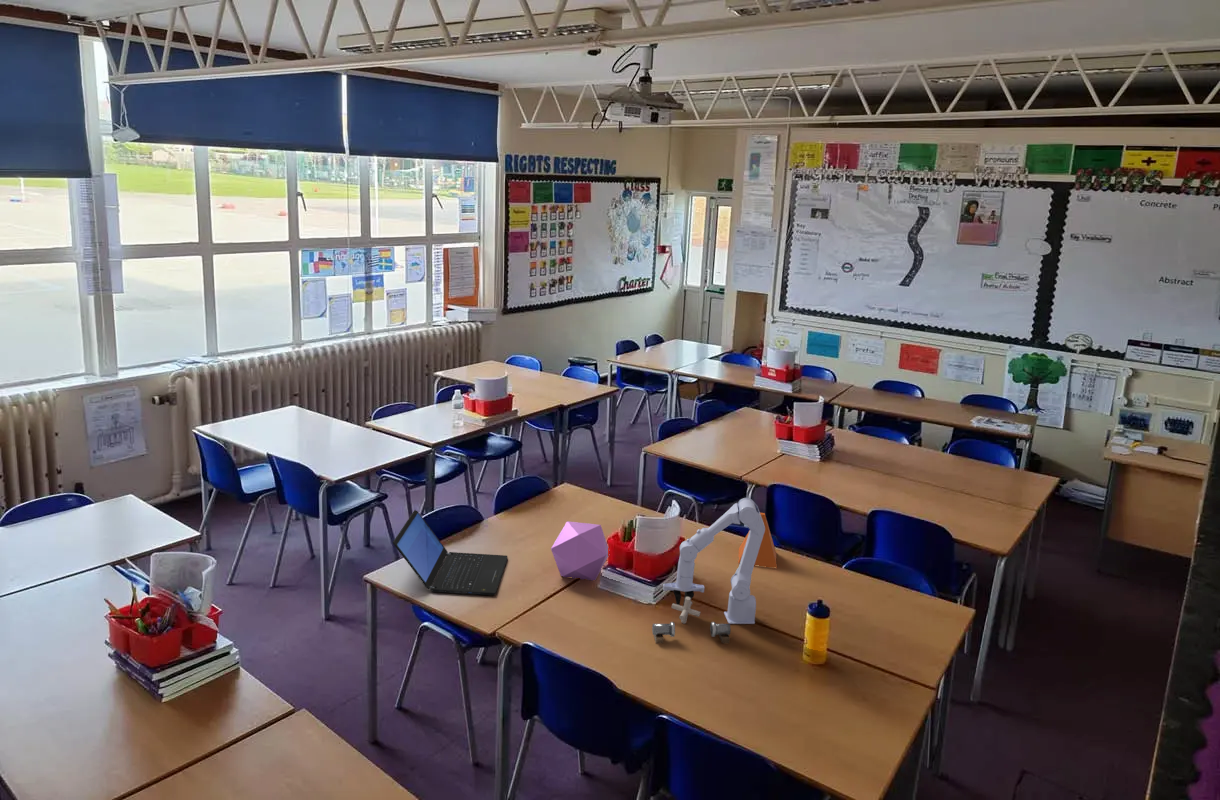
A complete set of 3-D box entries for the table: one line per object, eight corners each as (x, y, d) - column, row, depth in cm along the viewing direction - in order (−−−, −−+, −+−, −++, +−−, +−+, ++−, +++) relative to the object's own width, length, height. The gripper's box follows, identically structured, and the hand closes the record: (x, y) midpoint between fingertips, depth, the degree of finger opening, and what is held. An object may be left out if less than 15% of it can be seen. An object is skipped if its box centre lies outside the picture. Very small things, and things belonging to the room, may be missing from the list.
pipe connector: (693, 634, 292) (698, 610, 288) (666, 625, 295) (670, 601, 291) (701, 618, 301) (705, 595, 297) (674, 609, 303) (678, 586, 300)
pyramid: (737, 564, 346) (742, 518, 341) (738, 548, 361) (743, 504, 356) (777, 569, 344) (782, 523, 339) (776, 553, 359) (781, 509, 354)
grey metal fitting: (671, 635, 288) (673, 619, 287) (674, 643, 283) (675, 626, 282) (651, 635, 288) (652, 619, 286) (653, 643, 283) (654, 626, 281)
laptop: (495, 598, 308) (496, 548, 303) (392, 591, 308) (391, 542, 303) (508, 558, 340) (509, 513, 335) (415, 552, 340) (415, 507, 335)
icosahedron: (561, 538, 344) (556, 506, 325) (613, 544, 342) (611, 511, 322) (551, 588, 331) (545, 558, 311) (605, 595, 328) (602, 564, 309)
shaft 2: (726, 635, 290) (728, 619, 289) (729, 643, 285) (731, 626, 284) (709, 635, 290) (710, 619, 288) (712, 643, 285) (713, 626, 283)
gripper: (703, 569, 304) (699, 604, 308) (663, 568, 303) (659, 602, 306) (707, 579, 297) (702, 613, 301) (666, 577, 296) (662, 612, 299)
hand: (681, 608), depth 303 cm, fingers closed
